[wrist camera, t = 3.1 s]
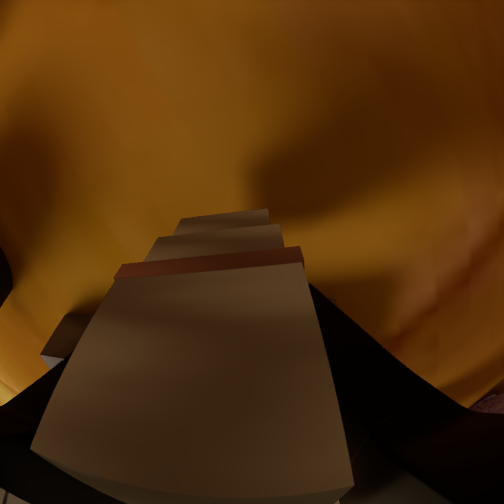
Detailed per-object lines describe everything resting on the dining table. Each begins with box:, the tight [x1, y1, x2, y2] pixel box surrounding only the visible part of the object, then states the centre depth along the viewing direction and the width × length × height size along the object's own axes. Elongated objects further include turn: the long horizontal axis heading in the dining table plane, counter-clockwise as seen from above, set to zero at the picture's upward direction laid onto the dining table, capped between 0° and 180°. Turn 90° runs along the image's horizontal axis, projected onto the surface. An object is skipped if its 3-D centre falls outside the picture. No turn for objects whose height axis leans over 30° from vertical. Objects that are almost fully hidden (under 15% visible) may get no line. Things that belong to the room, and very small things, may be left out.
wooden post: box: [30, 209, 354, 504], centre depth 7 cm, size 4×4×9 cm
